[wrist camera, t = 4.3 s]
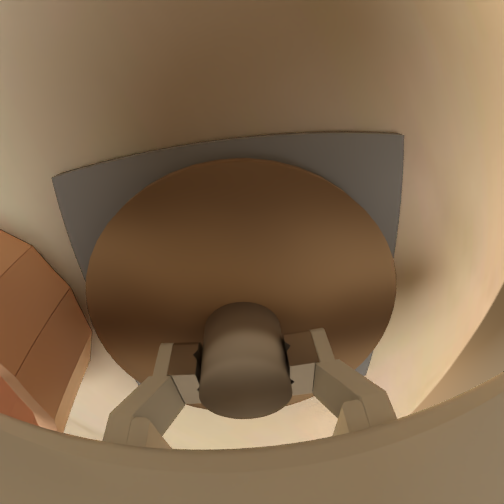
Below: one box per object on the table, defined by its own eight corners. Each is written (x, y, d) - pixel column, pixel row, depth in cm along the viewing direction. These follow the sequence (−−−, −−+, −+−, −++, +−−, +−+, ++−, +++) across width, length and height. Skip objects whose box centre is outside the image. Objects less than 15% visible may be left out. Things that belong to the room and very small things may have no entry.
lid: (63, 186, 10) (-13, 239, 5) (393, 146, 10) (478, 182, 5) (150, 392, 16) (138, 459, 11) (359, 372, 16) (383, 436, 12)
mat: (57, 174, 10) (51, 177, 9) (397, 133, 10) (404, 135, 9) (147, 390, 16) (145, 396, 16) (363, 369, 16) (365, 375, 16)
